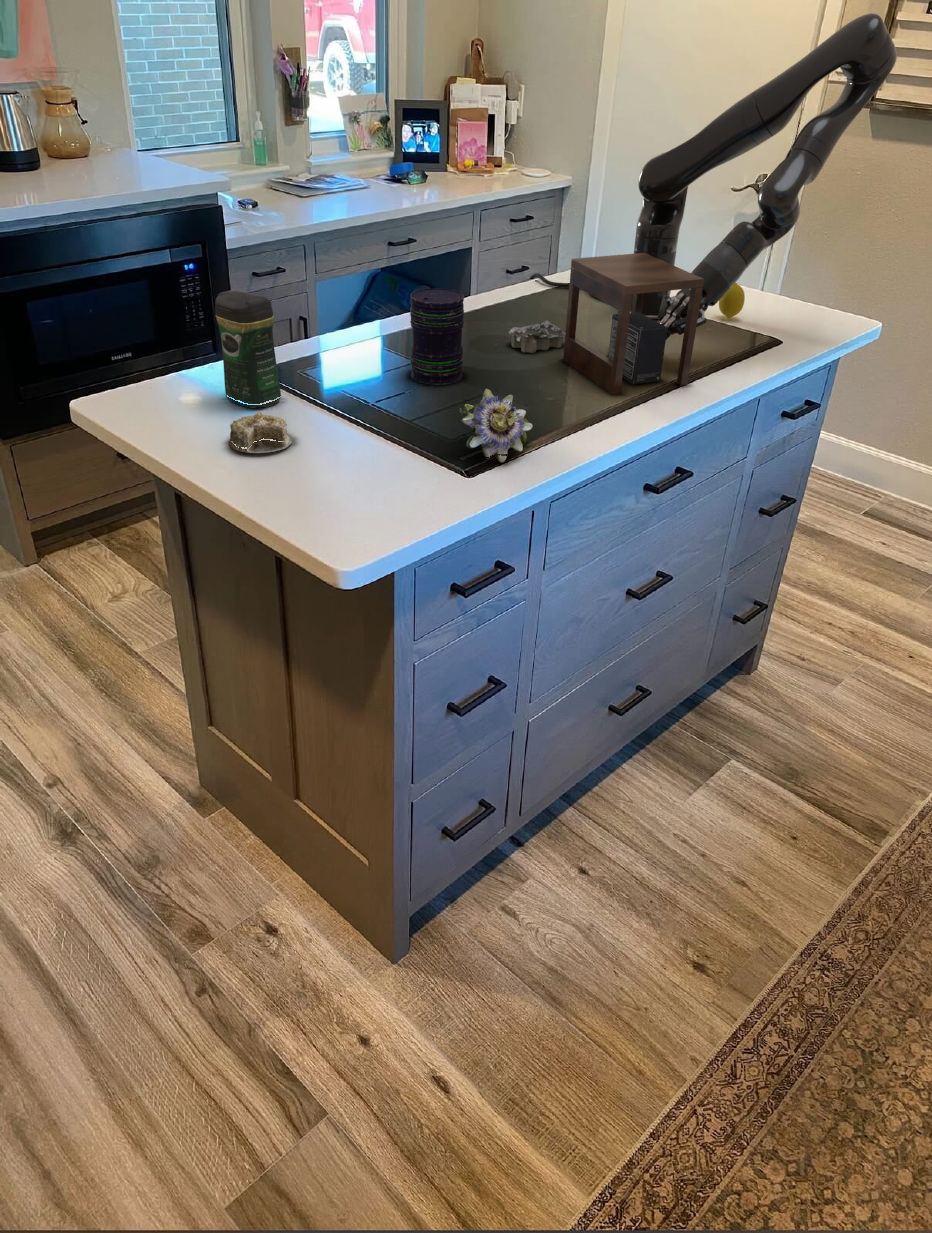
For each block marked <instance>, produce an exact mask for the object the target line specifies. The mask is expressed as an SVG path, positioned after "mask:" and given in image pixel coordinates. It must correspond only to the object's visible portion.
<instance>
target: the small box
mask: <svg viewBox="0 0 932 1233" xmlns="http://www.w3.org/2000/svg"><path fill="white" fill-rule="evenodd" d="M618 314H619V313H613V314H612V316H611V328H610V336H609V337H610V338H609V344H608V352H607V357H608V358H609V359H611V360H612V361H613V358H614V350H615V341H616V332H617V323H618ZM667 330H668V327H666V326H664V325H662V324H660V322H659V321H657V320H656V319H651V318H649V317H647V316H645V315H643V314H641V313H630V319H629V327H628V335H627V344H626V352H625V360H624V369H623V377H622V379H624V380H625V381H626V382H628V383H629V384H631V385H640V384H647V383H656V382H660V381H661V375H662V370H663V369H662V368H663V363H664V362H663V361H664V354H665V349H666V342H667V340H666V336H667Z"/></svg>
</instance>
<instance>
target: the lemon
mask: <svg viewBox="0 0 932 1233" xmlns="http://www.w3.org/2000/svg"><path fill="white" fill-rule="evenodd" d="M745 297H746V296H745V291H744V289H743V287H742V286H741V285H739V284H738V283H737V282H735V284H734V285H733V286H732V287H731V288H730V289H729V290H728V291H727V292H726V293H725V294H724V296H723V297H722V298H721V299H720V300H719V301H718V309H719V312H720V313H721V314H722V315H724V316H725V317H726V319H728V320H730V319H732V317H736V316H737V315H739V314H740V313H741V311H742V310H743V308H744V305H745V299H746V298H745Z"/></svg>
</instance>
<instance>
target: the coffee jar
mask: <svg viewBox="0 0 932 1233" xmlns="http://www.w3.org/2000/svg"><path fill="white" fill-rule="evenodd" d="M214 306H215V307H214V310H215V318H216V322H217V325H218V329H219V334H220V340H221V353H222V364H223V378H224V381H223V382H224V391H225V392H224V393H225V397H226V398H227V400H229V401H230V402H232V403H234V404H237V405H240V406H243V407H246V408H251V409H254V408H261V407H262V408H266V407H270V406H272V405H274V404H276V403H277V402H278V401H280V399H282V398H281V397H282V391H281V385H280V384H281V383H280V377H279V372H278V365H277V358H276V357H277V356H276V351H275V344H274V343H275V342H274V321H275V316H274V309H273V304H272V301H271V300H270V299H269V298H267V297H265V296H261V295H256V294H253V293H250V292H246V291H242V290H240V289H239V288H236V289H232V290H226V291H223V292H219V293H218V294H217V297H216V298H215V303H214ZM226 395H228V396H229V397H232V398H234V399H235V400H240V401H242V402H244V403H248V404H260V403H264V402H266V401H269V400H274V399H276V398H277V397H280V396H281V397H280V398H279V399H277V400H275V401H272V402H269V403H266V404H262V405H247V404H243V403H240V402H238V401H235V400H233V399H231V398H229V397H227V396H226Z"/></svg>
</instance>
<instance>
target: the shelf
mask: <svg viewBox="0 0 932 1233" xmlns="http://www.w3.org/2000/svg"><path fill="white" fill-rule="evenodd" d="M569 274H570V275H569V283H570V285H569V287H568V299H567V309H566V323H565V332H566V333H565V332H564V333H565V337H564V347H563V357H562V360H563V362H565V363H566V364H568V365H569V366H570V367H572V368H573V369H575V370H577V371H578V372H580V373H581V374H582V375H584V376H586V377H587V378H588V379H589V380H591V381H592V382H594V383H595V384H596V385H598V386H600V387H601V388H602V389H604V390H606V391H607V392H608V393H610V394H611V395H613V396H616V395H617V396H618V395H621V393H622V384H623V378H622V377H623V369H624V360H625V352H626V344H627V335H628V327H629V319H630V310H631V313H641V312H642V304H643V296H644V293H650V292H661V291H671V292H672V291H680V290H682V289H691V291H690V297H689V304H688V310H687V317H686V323H685V330H684V333H683V337H682V344H681V350H680V357H679V364H678V369H677V377H676V382H675V383H676V384H677V385H678V386H680V387H682V386H688V383H689V376H690V369H691V364H692V357H693V351H694V345H695V339H696V334H697V328H698V327H697V321H698V315H699V308H700V302H701V296H702V290H703V283H704V279H703V278H701V277H699V276H696V275H694V274H692V273H691V272H690V271H687V270H685V269H682V268H680V267H678V266H675V265H671V264H669V263H667V262H664V261H662V260H660V259H658V258H655V257H653V256H651V255H649V254H646V253H636V254H634V253H625V254H614V255H613V254H612V255H601V256H588V257H587V256H586V257H576V258H571V262H570V273H569ZM580 290H581V291H583V292H585V293H587V294H589V295H590V296H592V297H594V298H596V299H597V300H599V301H600V300H601V301H600V302H602V301H603V303H605V304H607V305H608V306H610V307H612V308H613V309H616V310H618V313H617V314H618V323H617V332H616V341H615V350H614V358H613V361H612V360H611V359H609V358H608V356H606V355H604V354H603V353H601V352H600V351H599V350H596V349H595V348H593V347H592V346H590V345H589V344H587V343H586V342H584V341H582V340H581V339H579V338H577V337H576V334H577V323H578V310H579V302H580V301H579V299H580ZM632 294H633V300H632ZM631 302H632V309H631Z"/></svg>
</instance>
